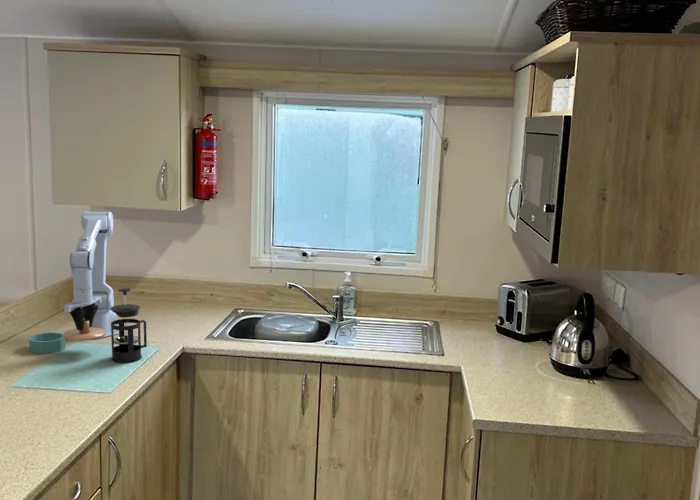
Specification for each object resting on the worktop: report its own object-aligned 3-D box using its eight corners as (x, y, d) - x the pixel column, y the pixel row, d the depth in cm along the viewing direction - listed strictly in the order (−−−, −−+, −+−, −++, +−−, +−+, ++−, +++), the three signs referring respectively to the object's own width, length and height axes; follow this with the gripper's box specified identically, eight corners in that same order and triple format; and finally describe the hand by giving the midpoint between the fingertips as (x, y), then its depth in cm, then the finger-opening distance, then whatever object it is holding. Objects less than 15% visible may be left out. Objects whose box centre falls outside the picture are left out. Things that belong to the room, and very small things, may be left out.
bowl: (55, 341, 240) (54, 330, 239) (71, 348, 233) (71, 337, 232) (24, 348, 231) (23, 337, 231) (39, 355, 225) (39, 344, 224)
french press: (114, 365, 218) (112, 293, 214) (105, 357, 225) (103, 287, 222) (151, 359, 225) (149, 289, 221) (141, 351, 232) (139, 283, 228)
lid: (92, 327, 237) (91, 313, 236) (113, 335, 228) (113, 320, 228) (55, 335, 227) (54, 320, 226) (76, 343, 218) (75, 328, 218)
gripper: (89, 282, 233) (90, 321, 235) (56, 290, 220) (57, 332, 222) (106, 284, 230) (107, 324, 233) (73, 293, 217) (74, 335, 219)
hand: (84, 328), depth 227 cm, fingers closed on lid, 3 cm apart
